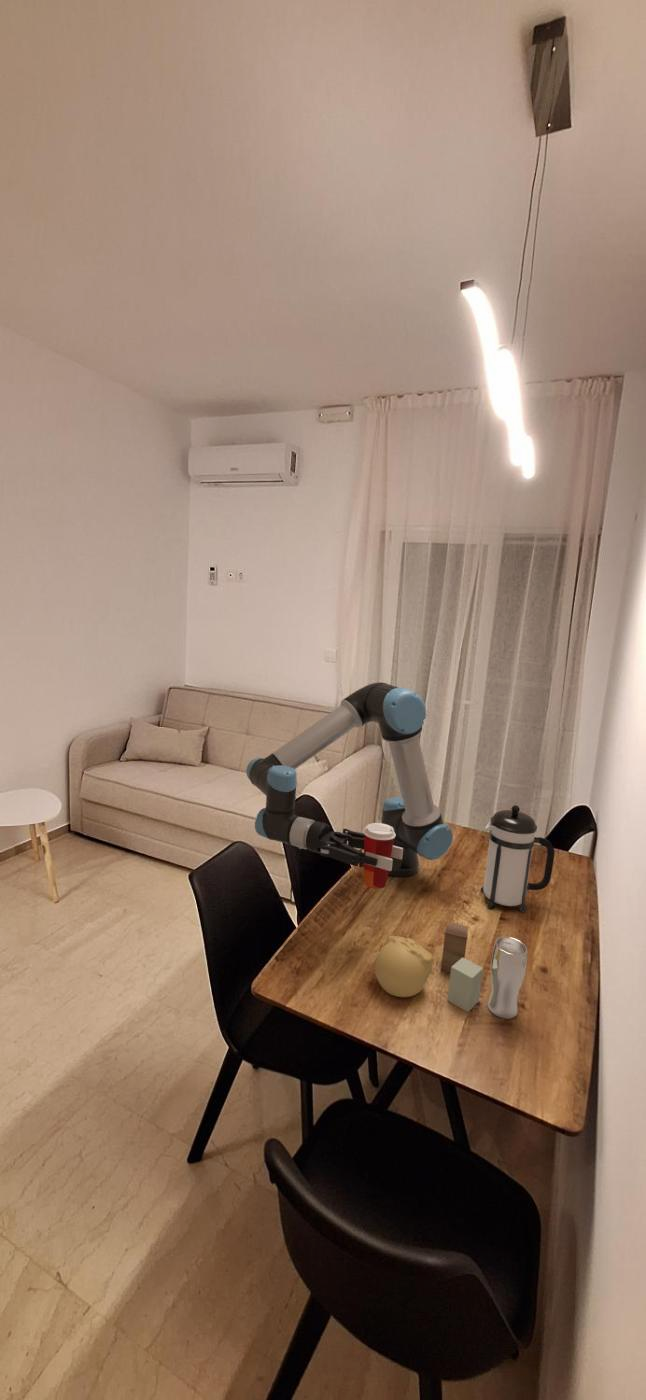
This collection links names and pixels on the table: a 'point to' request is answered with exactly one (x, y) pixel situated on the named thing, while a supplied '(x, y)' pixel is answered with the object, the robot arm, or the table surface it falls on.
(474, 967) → the sage block
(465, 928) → the walnut block
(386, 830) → the paper cup
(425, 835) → the robot arm
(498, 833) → the coffee press
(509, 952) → the beer glass
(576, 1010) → the table surface
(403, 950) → the sculpture
